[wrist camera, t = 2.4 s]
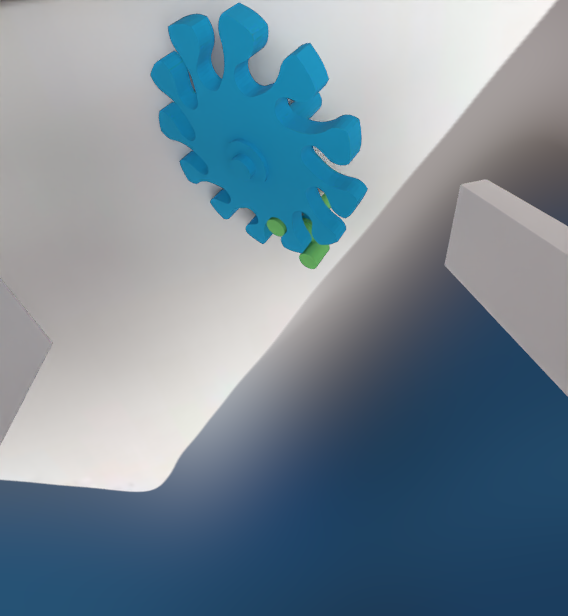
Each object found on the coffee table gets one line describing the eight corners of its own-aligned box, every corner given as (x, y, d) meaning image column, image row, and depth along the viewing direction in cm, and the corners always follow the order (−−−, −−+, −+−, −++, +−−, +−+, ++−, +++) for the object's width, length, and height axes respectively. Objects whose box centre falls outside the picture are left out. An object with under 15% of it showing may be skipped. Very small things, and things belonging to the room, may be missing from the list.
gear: (101, 72, 14) (272, -50, 8) (194, 16, 17) (384, -115, 10) (236, 267, 21) (386, 289, 15) (287, 207, 24) (437, 203, 17)
